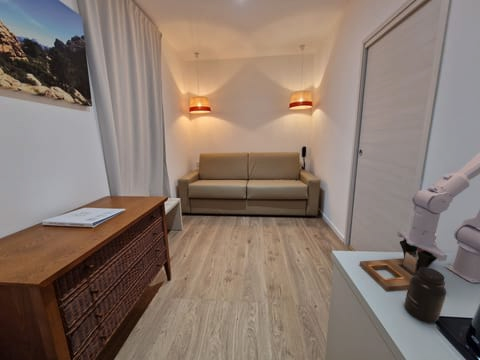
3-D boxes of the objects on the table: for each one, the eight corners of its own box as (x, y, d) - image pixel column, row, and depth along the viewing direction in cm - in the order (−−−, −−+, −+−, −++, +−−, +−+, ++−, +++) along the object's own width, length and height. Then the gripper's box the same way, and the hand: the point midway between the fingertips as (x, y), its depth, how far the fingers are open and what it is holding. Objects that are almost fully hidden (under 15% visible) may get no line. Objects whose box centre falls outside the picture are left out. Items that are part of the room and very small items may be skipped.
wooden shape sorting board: (408, 261, 75) (409, 257, 75) (444, 286, 63) (445, 281, 63) (359, 265, 73) (360, 260, 72) (386, 291, 61) (387, 286, 61)
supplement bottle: (399, 309, 55) (408, 270, 52) (409, 298, 59) (418, 260, 56) (433, 329, 50) (446, 286, 47) (441, 315, 54) (453, 274, 51)
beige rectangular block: (412, 269, 71) (416, 251, 69) (423, 277, 67) (428, 258, 65) (401, 270, 70) (405, 251, 69) (412, 278, 67) (417, 259, 65)
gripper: (392, 219, 71) (385, 254, 75) (435, 241, 57) (424, 283, 61) (411, 218, 72) (403, 253, 75) (458, 240, 58) (446, 282, 61)
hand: (414, 267), depth 68 cm, fingers closed on beige rectangular block, 4 cm apart
